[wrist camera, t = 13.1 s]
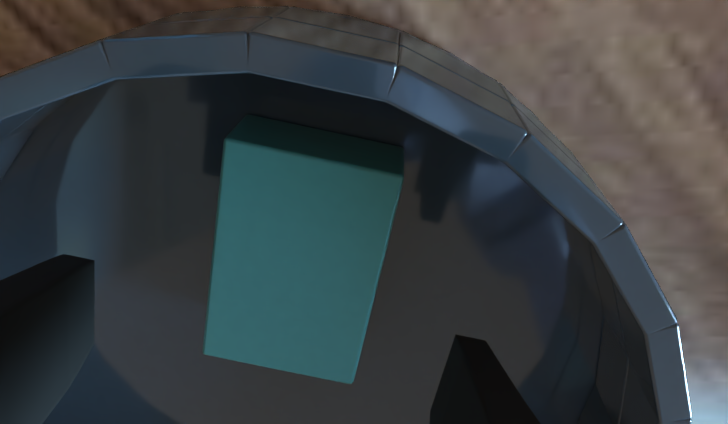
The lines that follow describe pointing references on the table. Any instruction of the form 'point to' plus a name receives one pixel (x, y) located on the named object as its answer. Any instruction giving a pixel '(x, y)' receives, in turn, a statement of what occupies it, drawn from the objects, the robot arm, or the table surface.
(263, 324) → the rectangular block
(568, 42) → the table surface
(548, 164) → the bowl
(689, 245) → the table surface
